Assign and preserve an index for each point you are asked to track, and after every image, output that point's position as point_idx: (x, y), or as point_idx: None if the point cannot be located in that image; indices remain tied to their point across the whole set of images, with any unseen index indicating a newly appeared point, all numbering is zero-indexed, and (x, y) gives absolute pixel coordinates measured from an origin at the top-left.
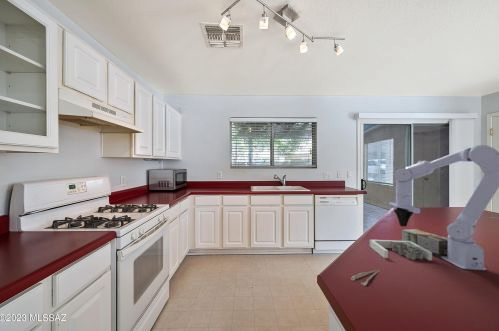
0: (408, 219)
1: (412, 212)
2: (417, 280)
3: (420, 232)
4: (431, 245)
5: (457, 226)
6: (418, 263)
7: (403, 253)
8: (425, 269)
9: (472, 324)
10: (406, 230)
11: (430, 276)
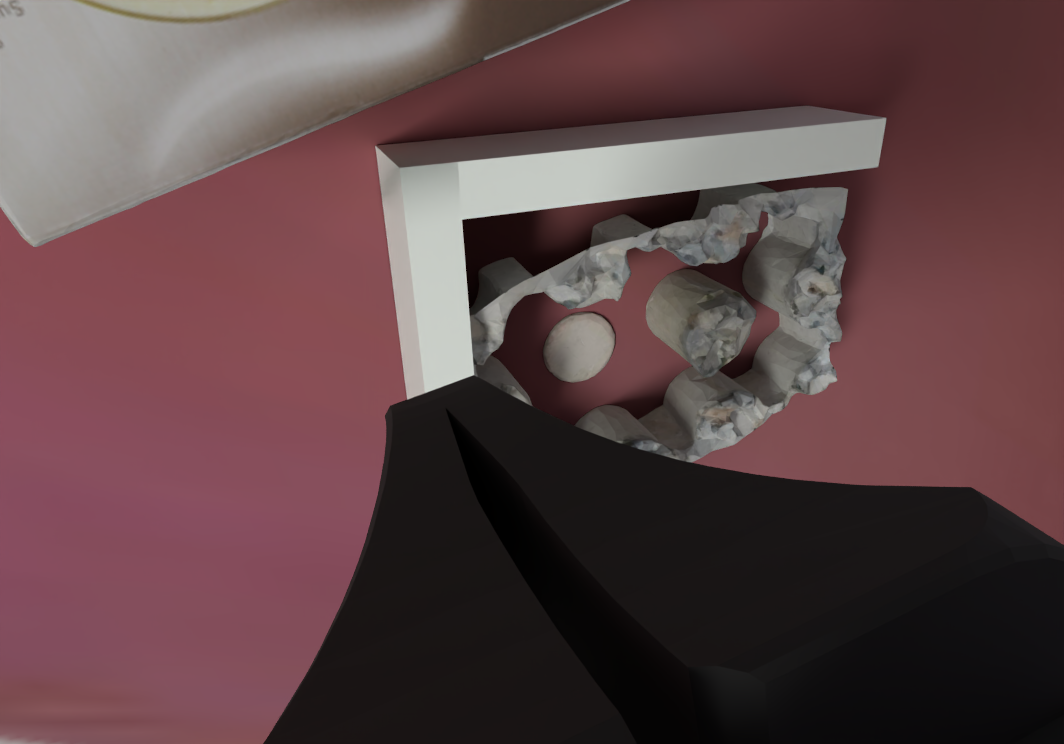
0: (617, 456)
1: (1056, 584)
2: (1058, 456)
3: None
4: None
5: None
6: (858, 317)
7: (682, 391)
8: (958, 317)
9: None
10: (76, 150)
11: (1044, 342)
